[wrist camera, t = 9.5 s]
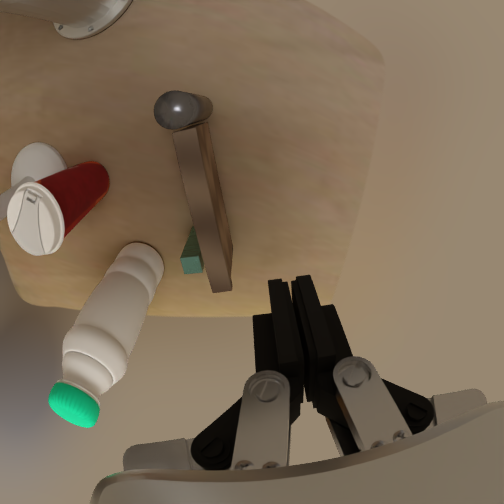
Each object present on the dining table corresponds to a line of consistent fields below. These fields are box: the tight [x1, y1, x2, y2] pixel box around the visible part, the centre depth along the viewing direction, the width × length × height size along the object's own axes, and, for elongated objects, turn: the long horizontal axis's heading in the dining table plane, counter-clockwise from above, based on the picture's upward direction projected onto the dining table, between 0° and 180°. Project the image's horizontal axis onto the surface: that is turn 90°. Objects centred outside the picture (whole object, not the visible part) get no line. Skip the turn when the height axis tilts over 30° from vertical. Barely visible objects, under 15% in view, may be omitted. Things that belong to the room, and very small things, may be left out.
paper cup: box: [7, 161, 109, 256], centre depth 26 cm, size 8×8×14 cm
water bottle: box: [48, 243, 164, 428], centre depth 27 cm, size 7×7×25 cm
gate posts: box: [154, 91, 213, 274], centre depth 27 cm, size 18×3×12 cm, turn 179°
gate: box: [172, 122, 233, 293], centre depth 28 cm, size 16×2×9 cm, turn 9°
